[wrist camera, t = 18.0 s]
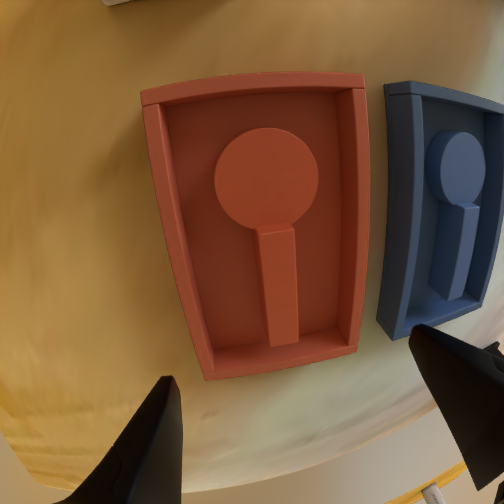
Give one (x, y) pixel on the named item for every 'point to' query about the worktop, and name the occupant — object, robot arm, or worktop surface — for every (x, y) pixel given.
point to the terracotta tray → (241, 238)
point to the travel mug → (433, 495)
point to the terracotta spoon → (269, 214)
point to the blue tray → (434, 203)
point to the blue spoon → (454, 207)
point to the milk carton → (113, 2)
